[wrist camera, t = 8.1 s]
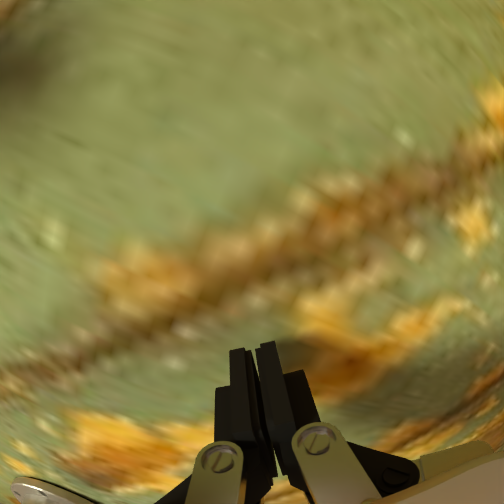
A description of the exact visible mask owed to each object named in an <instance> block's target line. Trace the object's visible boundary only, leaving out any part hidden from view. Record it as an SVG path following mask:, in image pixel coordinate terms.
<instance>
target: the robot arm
mask: <svg viewBox="0 0 504 504" xmlns="http://www.w3.org/2000/svg"><path fill="white" fill-rule="evenodd" d="M260 347H261V348H257V349H255V351H256V358H257V365H258V372H259V377H258V373H257V370H256V366H255V363H254V359H253V356H252V352H251V350H248V351H245V348H239V349H234V350H230V351H229V357H230V386H224V387H218V388H216V390H215V423H214V443H211V444H208V445H207V446H205V447H204V448H203V449H202V450H201V451H200V452H199V453H198V455H197V457H196V460H195V464H194V468H193V473H192V474H191V475H190V476H189V477H188V478H186V479H185V480H184V481H183V482H182V483H180V484H179V485H178V486H177V487H175V488H174V489H173V490H171V491H170V492H169V493H168V494H166V495H165V496H164V497H162V498H161V499H160V500H158V501H157V502H156V503H154V504H264V502H265V501H264V496H265V495H266V493H267V492H268V491H269V490H270V489H271V486H273V479H272V478H273V477H278V473H277V467H276V461H275V455H274V451H275V454H276V457H277V460H278V463H279V466H280V469H281V472H282V475H283V476H284V475H288V479H289V482H290V485H292V486H294V487H296V488H298V489H300V490H302V491H303V493H304V495H305V498H306V500H307V502H308V504H504V451H500V452H495V453H494V451H493V449H492V447H491V446H490V445H489V444H488V443H486V442H484V441H479V440H478V441H472V442H469V443H466V444H463V445H459V446H456V447H453V448H449V449H446V450H442V451H439V452H435V453H431V454H427V455H423V456H420V459H416V460H412V461H411V460H408V459H406V458H402V457H398V456H395V455H391V454H387V453H384V452H380V451H377V450H373V449H370V448H367V447H363V446H360V445H357V444H354V443H351V442H348V441H346V440H345V439H344V437H343V436H342V434H341V432H340V431H339V430H338V429H337V428H336V427H335V426H333V425H331V424H330V423H325V422H321V421H320V418H319V415H318V412H317V409H316V406H315V403H314V400H313V397H312V394H311V391H310V388H309V385H308V382H307V379H306V376H305V373H304V371H303V370H299V371H295V372H291V373H287V374H283V373H282V369H281V365H280V361H279V357H278V353H277V349H276V345H275V341H271V342H267V343H262V344H260ZM259 379H260V380H259ZM273 448H274V449H273ZM11 491H12V492H13V494H14V496H15V497H16V498H17V499H18V501H19V502H21V504H94V503H92V502H90V501H88V500H86V499H84V498H82V497H80V496H78V495H75V494H73V493H71V492H68V491H66V490H64V489H61V488H59V487H56V486H54V485H51V484H48V483H46V482H43V481H40V480H36V479H32V478H27V477H16V478H15V479H14V480H13V482H12V484H11Z"/></svg>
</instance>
